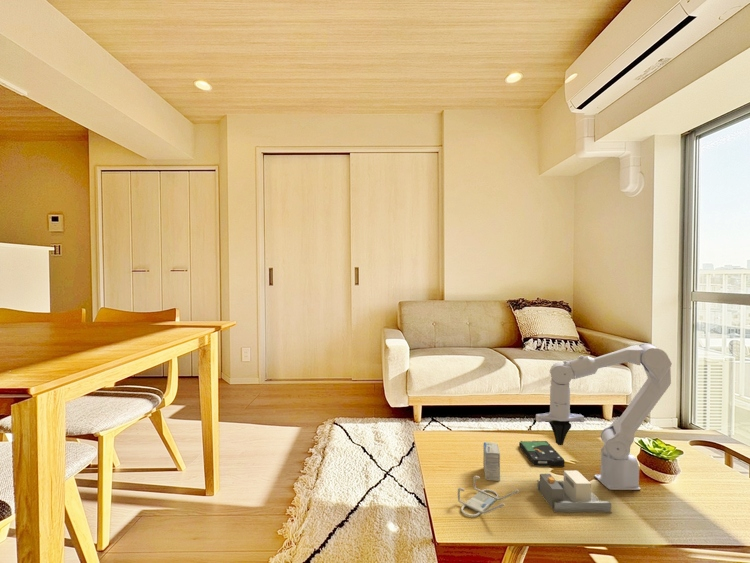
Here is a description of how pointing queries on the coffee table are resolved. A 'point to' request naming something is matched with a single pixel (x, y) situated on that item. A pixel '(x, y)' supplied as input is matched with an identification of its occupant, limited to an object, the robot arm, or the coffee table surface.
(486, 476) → the medicine box
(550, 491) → the block
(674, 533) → the coffee table surface
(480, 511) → the wall mount rack
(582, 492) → the block
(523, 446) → the disk drive
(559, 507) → the grey tray
